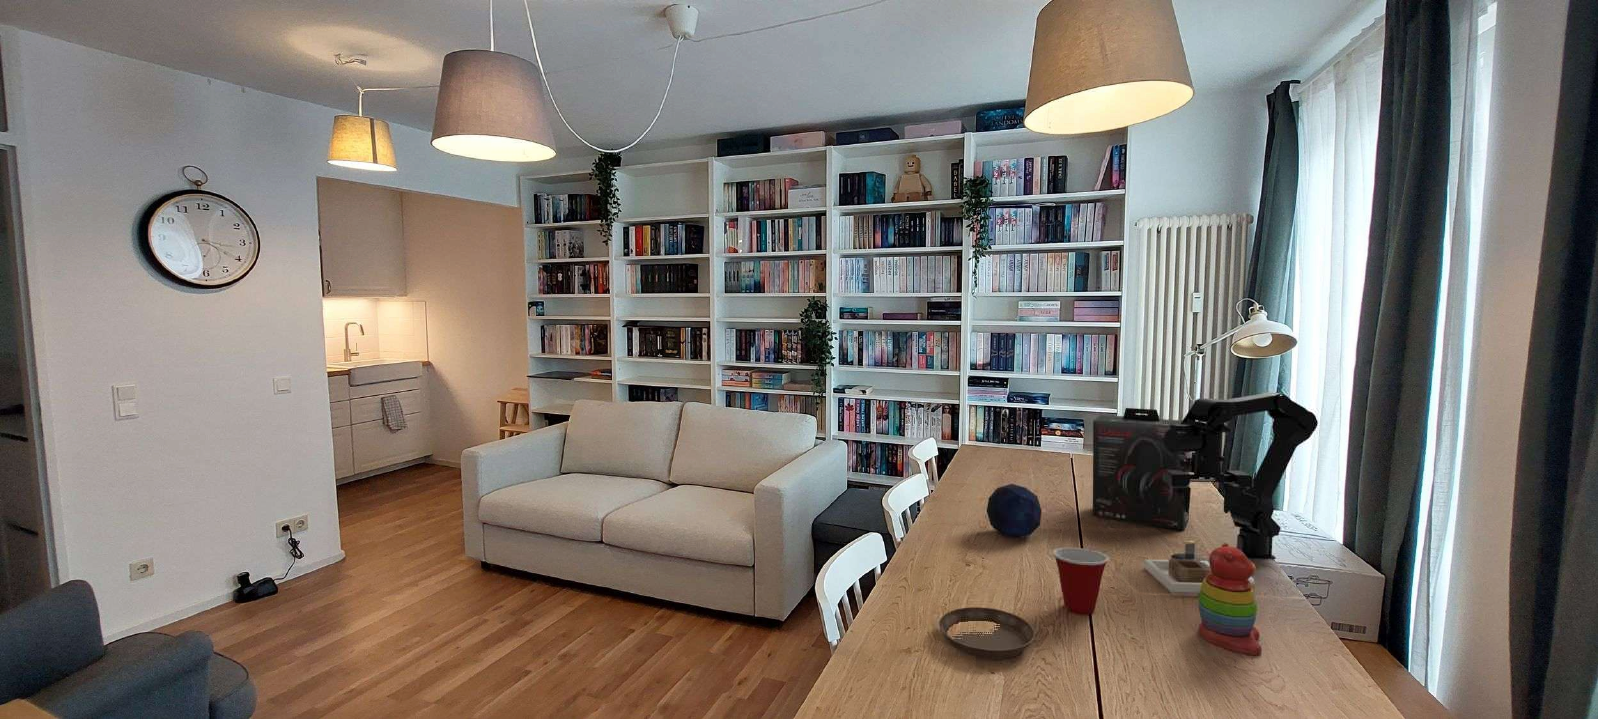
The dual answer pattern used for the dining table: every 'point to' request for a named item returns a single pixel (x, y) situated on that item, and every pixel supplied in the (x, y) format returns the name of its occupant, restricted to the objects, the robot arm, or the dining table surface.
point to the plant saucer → (998, 645)
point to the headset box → (1135, 470)
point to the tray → (1162, 575)
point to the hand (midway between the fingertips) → (1206, 512)
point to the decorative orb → (1014, 511)
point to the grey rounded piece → (1188, 552)
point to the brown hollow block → (1188, 570)
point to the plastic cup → (1080, 577)
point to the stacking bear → (1229, 602)
